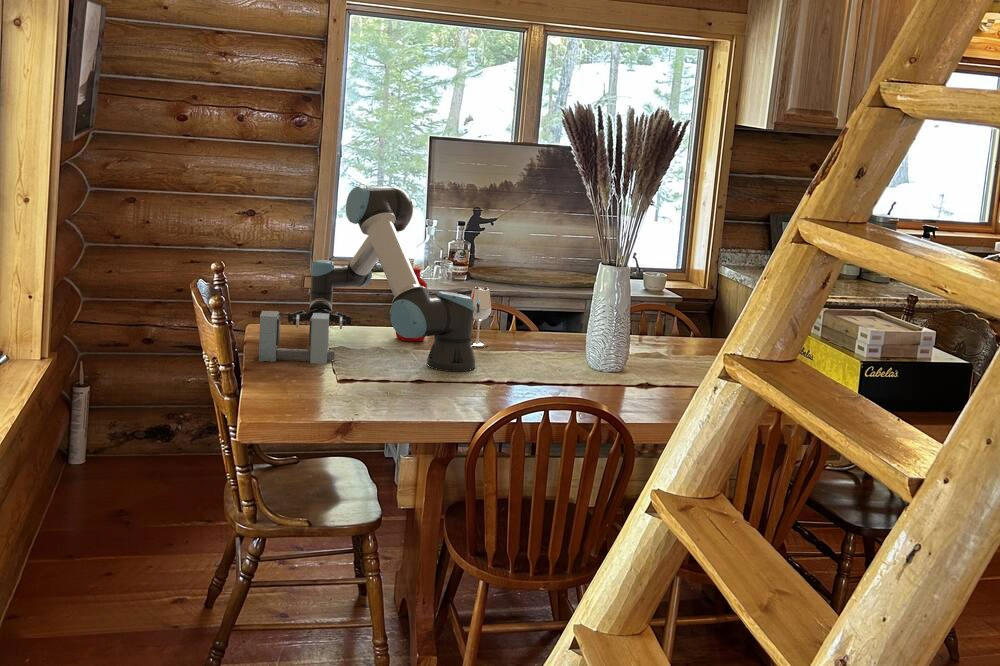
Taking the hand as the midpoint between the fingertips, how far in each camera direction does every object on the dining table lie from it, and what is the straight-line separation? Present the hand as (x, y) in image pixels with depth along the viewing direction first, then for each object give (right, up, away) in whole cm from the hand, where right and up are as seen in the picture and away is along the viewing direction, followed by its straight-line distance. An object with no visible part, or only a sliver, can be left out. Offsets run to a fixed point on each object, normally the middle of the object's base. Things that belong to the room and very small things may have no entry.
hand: (319, 324), depth 331 cm
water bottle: (+25, -5, +33) cm, 42 cm away
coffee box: (+42, -3, +50) cm, 65 cm away
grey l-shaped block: (-5, -11, -7) cm, 14 cm away
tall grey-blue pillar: (+1, -11, -6) cm, 13 cm away
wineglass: (+49, -7, +32) cm, 59 cm away
